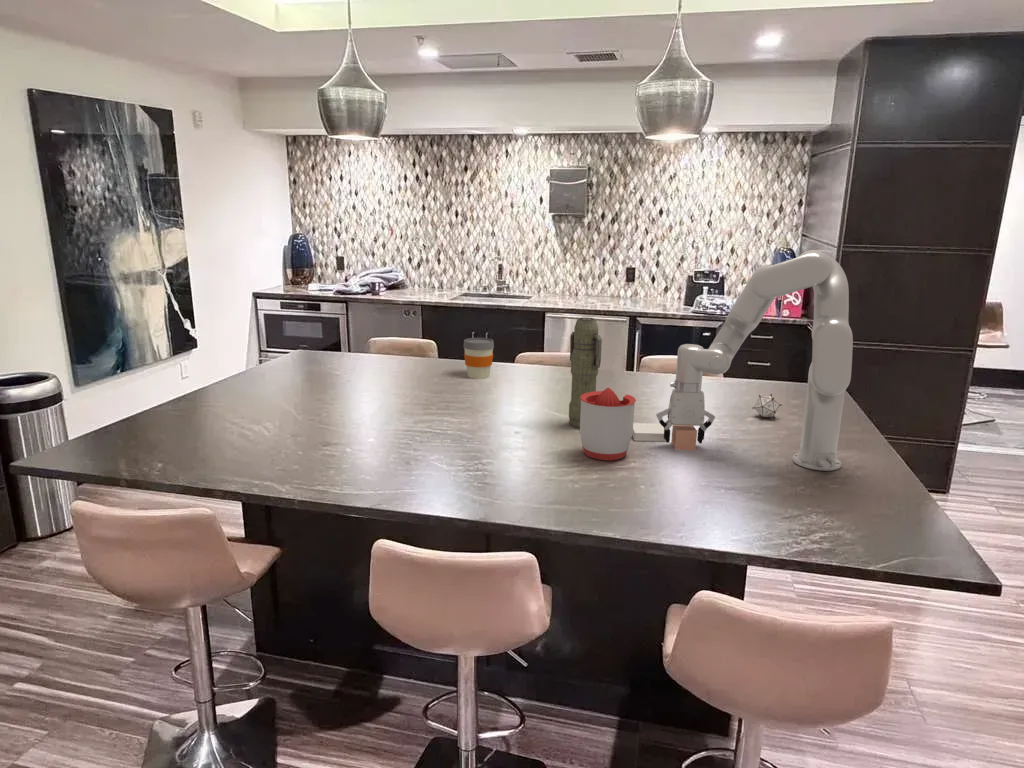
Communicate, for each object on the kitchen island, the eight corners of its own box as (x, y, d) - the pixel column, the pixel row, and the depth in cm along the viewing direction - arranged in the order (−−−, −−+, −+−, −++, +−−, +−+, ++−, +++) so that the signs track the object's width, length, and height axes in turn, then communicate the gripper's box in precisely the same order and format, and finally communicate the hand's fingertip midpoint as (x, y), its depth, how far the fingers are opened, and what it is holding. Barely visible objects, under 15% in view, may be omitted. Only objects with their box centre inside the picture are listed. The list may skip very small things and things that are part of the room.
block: (667, 441, 217) (667, 433, 216) (634, 440, 217) (635, 433, 216) (661, 431, 227) (661, 423, 226) (629, 430, 227) (630, 423, 226)
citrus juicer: (642, 450, 209) (646, 384, 204) (619, 468, 195) (624, 397, 190) (593, 440, 217) (596, 377, 212) (568, 457, 202) (571, 389, 197)
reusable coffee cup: (499, 375, 295) (500, 339, 292) (482, 381, 285) (482, 344, 281) (474, 371, 302) (475, 336, 298) (457, 376, 292) (457, 341, 288)
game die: (769, 429, 243) (784, 411, 235) (746, 419, 244) (760, 401, 236) (773, 411, 249) (787, 393, 241) (750, 401, 250) (763, 383, 242)
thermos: (575, 418, 239) (579, 314, 230) (604, 425, 231) (610, 319, 223) (559, 423, 232) (563, 317, 224) (589, 431, 225) (594, 322, 216)
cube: (695, 450, 210) (697, 431, 209) (675, 449, 210) (676, 430, 209) (690, 443, 216) (692, 424, 214) (671, 443, 216) (672, 424, 215)
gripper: (660, 389, 205) (656, 445, 209) (721, 390, 205) (715, 446, 209) (656, 382, 212) (652, 436, 216) (714, 384, 212) (709, 438, 216)
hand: (683, 441), depth 213 cm, fingers open, 9 cm apart
